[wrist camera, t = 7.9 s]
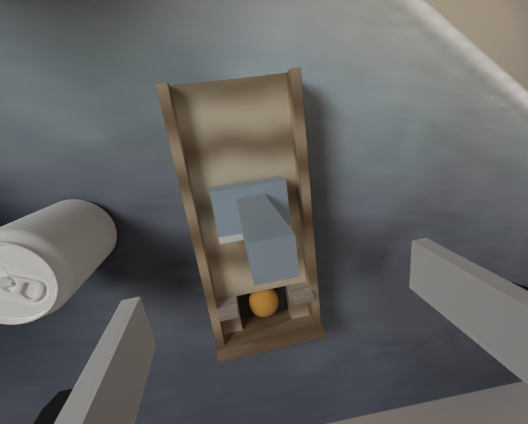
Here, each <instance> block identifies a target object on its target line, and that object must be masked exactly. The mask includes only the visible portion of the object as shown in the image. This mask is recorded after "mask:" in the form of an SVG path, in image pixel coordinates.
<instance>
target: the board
mask: <svg viewBox="0 0 528 424" xmlns="http://www.w3.org/2000/svg"><path fill="white" fill-rule="evenodd" d="M156 87H157V91H158V95H159V100H160V104H161V108H162V113H163V117H164V121H165V126H166V130H167V134H168V138H169V143H170V147H171V151H172V156H173V160H174V164H175V169H176V173H177V177H178V181H179V186H180V190H181V194H182V199H183V203H184V207H185V212H186V216H187V220H188V225H189V229H190V233H191V237H192V242H193V246H194V250H195V255H196V259H197V263H198V268H199V272H200V276H201V280H202V285H203V289H204V293H205V298H206V302H207V306H208V311H209V315H210V319H211V324H212V328H213V332H214V336H215V341H216V345H217V359H218V363H220V362H224V361H228V360H232V359H236V358H241V357H245V356H249V355H253V354H258V353H262V352H266V351H270V350H274V349H279V348H283V347H287V346H291V345H295V344H300V343H304V342H308V341H312V340H316V339H321V338H325V337H326V335H325V330H324V328H323V326H322V324H321V317H320V305H319V292H318V279H317V267H316V254H315V241H314V229H313V216H312V203H311V191H310V178H309V165H308V153H307V140H306V127H305V115H304V102H303V89H302V77H301V68H292V69H290V70H289V71H288V72H287V73H281V74H273V75H264V76H255V77H246V78H238V79H229V80H220V81H211V82H203V83H194V84H185V85H176V86H170V85H169V84H168V83H158V84H156ZM275 176H281V177H282V178H284V179H285V180H286V184H287V194H288V203H289V212H290V222H291V230H292V231H293V232H294V234H295V238H296V248H297V258H298V267H299V277H295V278H290V279H285V280H280V281H275V282H271V283H266V284H261V285H256V286H254V282H253V278H252V273H251V269H250V265H249V260H248V256H247V252H246V248H245V243H244V240H241V241H235V242H230V243H224V244H220V242H219V237H218V232H217V227H216V222H215V217H214V212H213V207H212V202H211V197H210V187H212V186H219V185H225V184H231V183H237V182H244V181H250V180H256V179H262V178H269V177H275ZM282 286H285V291H286V299H287V307H288V308H285V309H280V310H276V311H275V312H274V313H273V314H272V315H270V316H268V317H259V316H257V315H253V316H248V317H244V318H241V315H240V309H239V304H238V299H237V296H239V295H244V294H249V293H253V292H258V291H263V290H268V289H272V288H277V287H282Z"/></svg>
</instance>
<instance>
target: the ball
mask: <svg viewBox="0 0 528 424" xmlns="http://www.w3.org/2000/svg"><path fill="white" fill-rule="evenodd" d="M249 305H250V308H251V310H252V312H253V313H254V314H255V315H257V316H259V317H268V316H270V315H272V314H273V313H274V312H275V311H276V309H277V307H278V296H277V294H276V292H275V291H274V290H273V289H268V290H263V291H258V292H253V293H251V295H250V298H249Z"/></svg>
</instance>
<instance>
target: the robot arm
mask: <svg viewBox="0 0 528 424" xmlns="http://www.w3.org/2000/svg"><path fill="white" fill-rule="evenodd" d="M409 288H410V289H412V290H413V291H414V292H415V293H417V294H418V295H419V296H420V297H421V298H423V299H424V300H425V301H426V302H427V303H429V304H430V305H431V306H432V307H434V308H435V309H436V310H437V311H438V312H440V313H441V314H442V315H443V316H444V317H446V318H447V319H448V320H449V321H451V322H452V323H453V324H454V325H455V326H457V327H458V328H459V329H460V330H461V331H463V332H464V333H465V334H466V335H468V336H469V337H470V338H471V339H472V340H474V341H475V342H476V343H477V344H479V345H480V346H481V347H482V348H483V349H485V350H486V351H487V352H488V353H489V354H491V355H492V356H493V357H494V358H496V359H497V360H498V361H499V362H500V363H502V364H503V365H504V366H505V367H506V368H508V369H509V370H510V371H511V372H513V373H514V374H515V375H516V376H517V377H519V378H520V379H521V380H522V381H524V382H525V383H526V384H527V385H528V287H525V286H522V285H519V284H516V283H513V282H512V283H511V282H510V281H508V280H506V279H504V278H502V277H500V276H498V275H496V274H494V273H492V272H490V271H488V270H487V269H485V268H483V267H481V266H479V265H477V264H475V263H473V262H471V261H469V260H467V259H465V258H463V257H462V256H460V255H458V254H456V253H454V252H452V251H450V250H448V249H446V248H444V247H442V246H440V245H439V244H437V243H435V242H433V241H431V240H429V239H427V238H423V239H418V240H413V241H412V250H411V267H410V285H409ZM155 348H156V344H155V341H154V338H153V335H152V332H151V329H150V326H149V323H148V320H147V317H146V314H145V311H144V308H143V305H142V302H141V299H140V297H136V298H131V299H126V300H122V301H121V303H120V304H119V306H118V308H117V310H116V312H115V313H114V315H113V317H112V319H111V321H110V323H109V324H108V326H107V328H106V330H105V332H104V333H103V335H102V337H101V339H100V341H99V343H98V344H97V346H96V348H95V350H94V352H93V353H92V355H91V357H90V359H89V361H88V363H87V364H86V366H85V368H84V370H83V372H82V373H81V375H80V377H79V379H78V381H77V383H76V384H75V386H74V388H73V389H69V390H64V391H60V392H58V394H57V395H56V396H55V397H54V398H53V399H52V400H51V401H50V402H49V403H48V404H47V405H46V406H45V407H44V408H43V409H42V411H41V412H40V414H39V416H38V417H37V419H36V421H35V422H34V424H135V420H136V416H137V413H138V409H139V405H140V402H141V398H142V395H143V391H144V387H145V384H146V380H147V376H148V373H149V369H150V366H151V362H152V358H153V355H154V351H155Z"/></svg>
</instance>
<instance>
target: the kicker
mask: <svg viewBox="0 0 528 424" xmlns="http://www.w3.org/2000/svg"><path fill="white" fill-rule="evenodd" d="M210 197H211V202H212V207H213V212H214V217H215V222H216V227H217V232H218V237H219V242H220V244H224V243H230V242H235V241H241V240H244V243H245V248H246V252H247V256H248V260H249V265H250V269H251V273H252V278H253V282H254V286H256V285H261V284H266V283H271V282H275V281H280V280H285V279H290V278H295V277H299V267H298V258H297V248H296V238H295V234H294V232H293V231H292V230H291V222H290V212H289V203H288V194H287V184H286V180H285V179H284V178H282V177H281V176H275V177H269V178H262V179H256V180H250V181H244V182H237V183H231V184H225V185H219V186H212V187H210Z"/></svg>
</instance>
